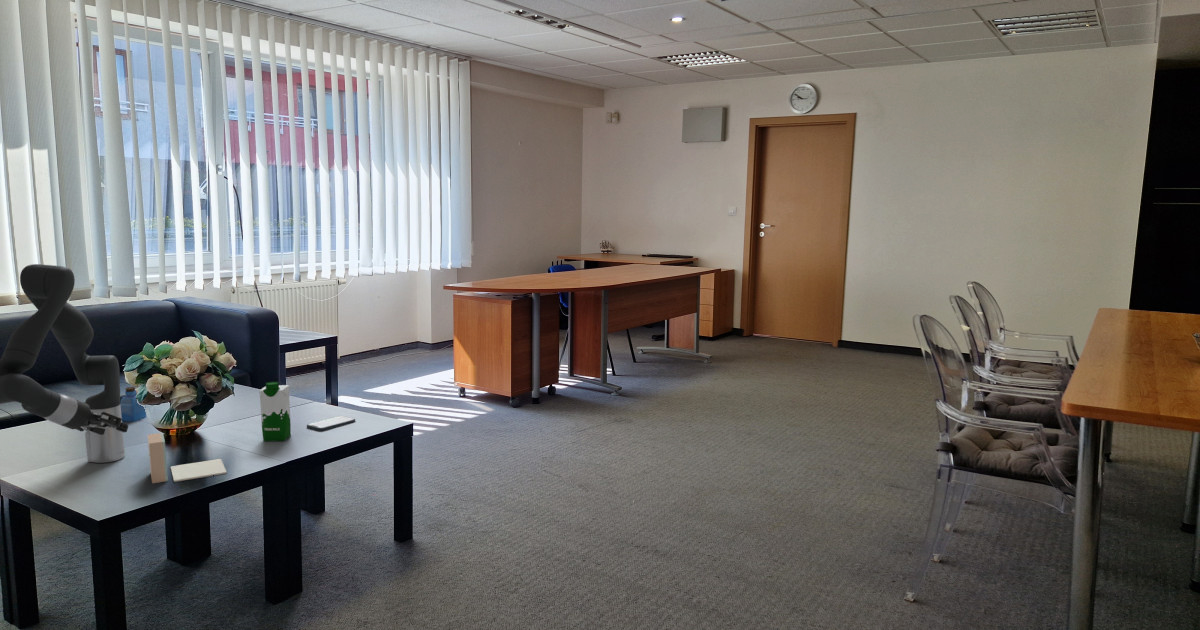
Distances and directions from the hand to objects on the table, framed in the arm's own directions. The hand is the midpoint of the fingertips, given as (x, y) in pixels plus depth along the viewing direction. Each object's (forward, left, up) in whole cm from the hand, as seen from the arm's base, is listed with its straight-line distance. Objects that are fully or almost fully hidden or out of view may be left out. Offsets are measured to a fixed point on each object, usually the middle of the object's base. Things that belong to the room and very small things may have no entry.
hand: (115, 430), depth 224 cm
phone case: (+48, +56, -17) cm, 76 cm away
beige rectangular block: (+9, +5, -16) cm, 19 cm away
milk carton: (+33, +41, -16) cm, 55 cm away
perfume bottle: (-27, +71, -16) cm, 78 cm away
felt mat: (+18, +10, -16) cm, 26 cm away
